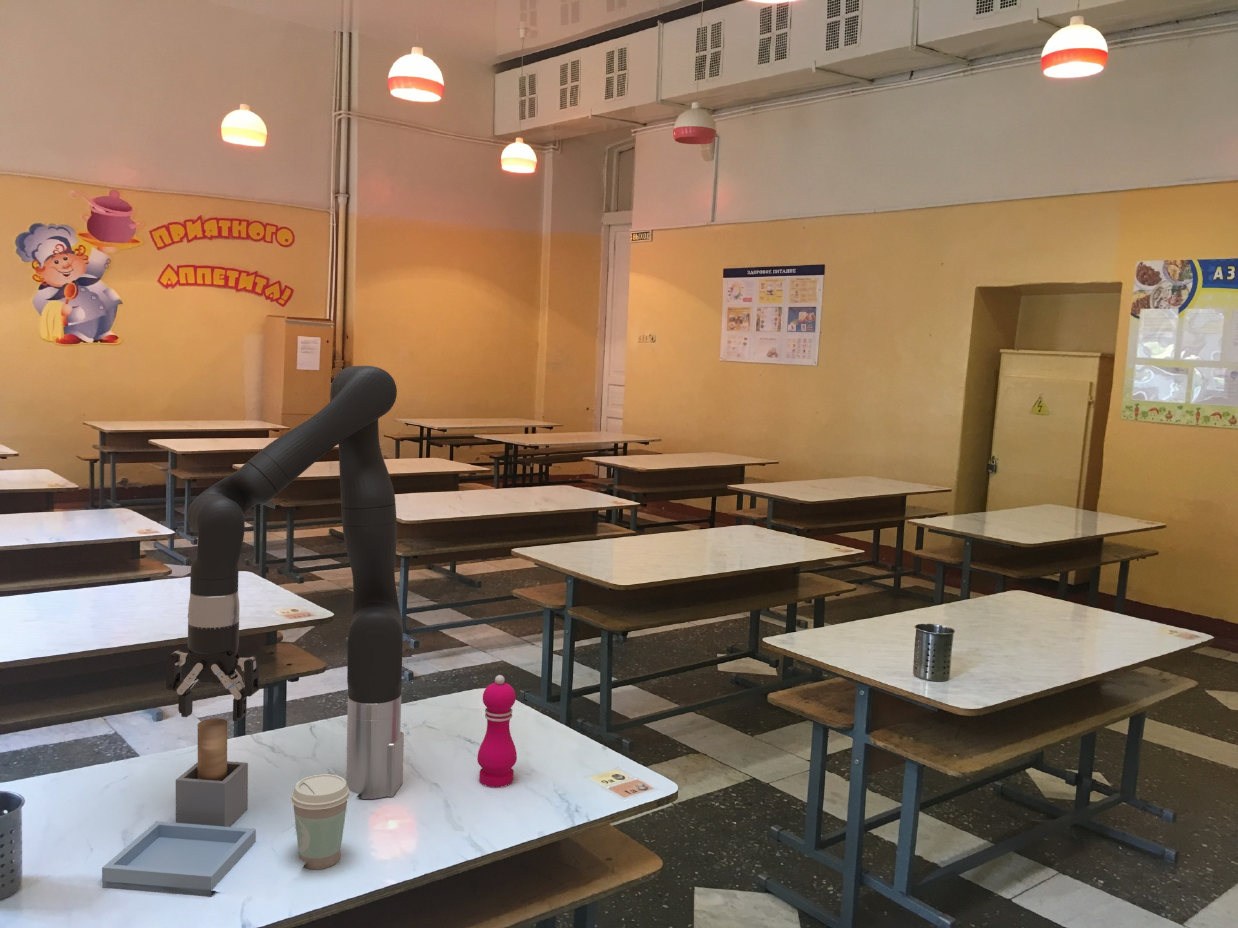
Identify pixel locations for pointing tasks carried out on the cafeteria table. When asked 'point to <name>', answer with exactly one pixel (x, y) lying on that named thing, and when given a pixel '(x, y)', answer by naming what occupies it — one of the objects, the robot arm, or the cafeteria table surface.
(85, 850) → the cafeteria table surface
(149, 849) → the tray
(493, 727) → the pepper mill
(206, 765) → the walnut peg
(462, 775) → the cafeteria table surface
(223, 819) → the grey square frame
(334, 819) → the coffee cup
